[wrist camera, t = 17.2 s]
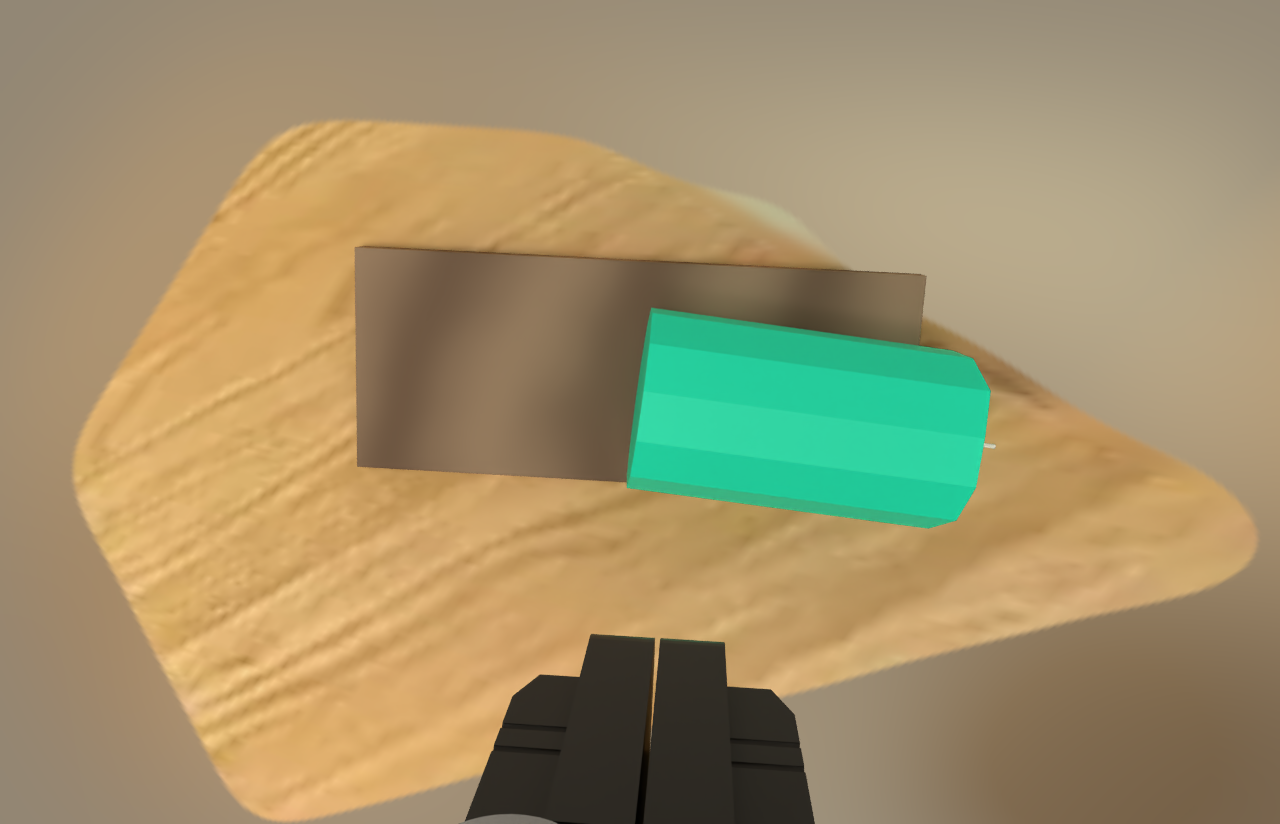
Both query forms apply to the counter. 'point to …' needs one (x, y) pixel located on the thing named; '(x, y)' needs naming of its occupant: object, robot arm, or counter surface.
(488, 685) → the counter surface
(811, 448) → the candle
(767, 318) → the board
